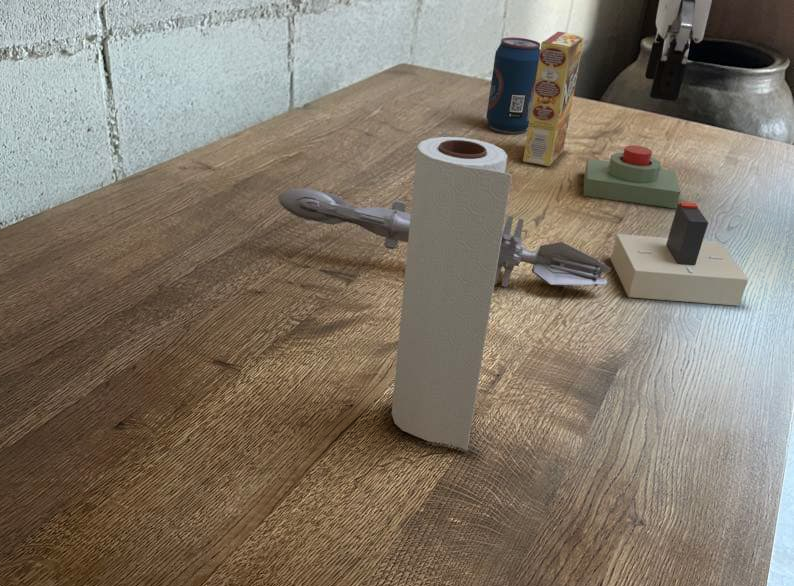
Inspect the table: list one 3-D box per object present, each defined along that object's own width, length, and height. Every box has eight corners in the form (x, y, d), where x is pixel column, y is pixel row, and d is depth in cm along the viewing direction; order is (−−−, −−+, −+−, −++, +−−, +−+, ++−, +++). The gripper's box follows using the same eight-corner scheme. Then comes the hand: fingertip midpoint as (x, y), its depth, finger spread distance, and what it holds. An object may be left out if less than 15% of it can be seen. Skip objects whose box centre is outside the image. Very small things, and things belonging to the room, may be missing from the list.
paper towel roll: (392, 398, 77) (418, 129, 63) (464, 404, 77) (505, 137, 63) (389, 446, 71) (417, 162, 58) (467, 452, 71) (512, 171, 58)
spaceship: (292, 160, 97) (279, 152, 90) (612, 237, 98) (626, 235, 90) (278, 237, 100) (264, 235, 92) (591, 312, 100) (603, 316, 92)
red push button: (648, 161, 122) (651, 147, 121) (649, 169, 120) (653, 155, 118) (621, 157, 123) (624, 143, 122) (621, 165, 120) (625, 151, 119)
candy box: (549, 168, 128) (572, 46, 119) (520, 162, 129) (540, 41, 120) (564, 151, 135) (586, 35, 125) (536, 146, 136) (556, 30, 126)
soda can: (481, 120, 144) (493, 34, 136) (524, 123, 145) (538, 38, 137) (489, 133, 139) (502, 45, 131) (534, 136, 140) (549, 48, 132)
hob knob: (695, 265, 97) (709, 220, 94) (677, 263, 97) (690, 218, 94) (683, 246, 101) (696, 202, 98) (665, 245, 101) (678, 201, 98)
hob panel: (713, 267, 105) (722, 240, 103) (739, 306, 97) (749, 277, 95) (610, 259, 104) (616, 232, 102) (627, 297, 97) (635, 268, 95)
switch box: (671, 186, 126) (679, 156, 124) (675, 208, 119) (684, 177, 117) (584, 174, 127) (590, 144, 125) (583, 195, 120) (590, 164, 118)
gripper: (748, -67, 94) (698, 111, 105) (727, -83, 107) (684, 76, 118) (674, -75, 95) (632, 103, 105) (662, -91, 108) (626, 69, 119)
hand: (660, 88), depth 112 cm, fingers open, 9 cm apart
